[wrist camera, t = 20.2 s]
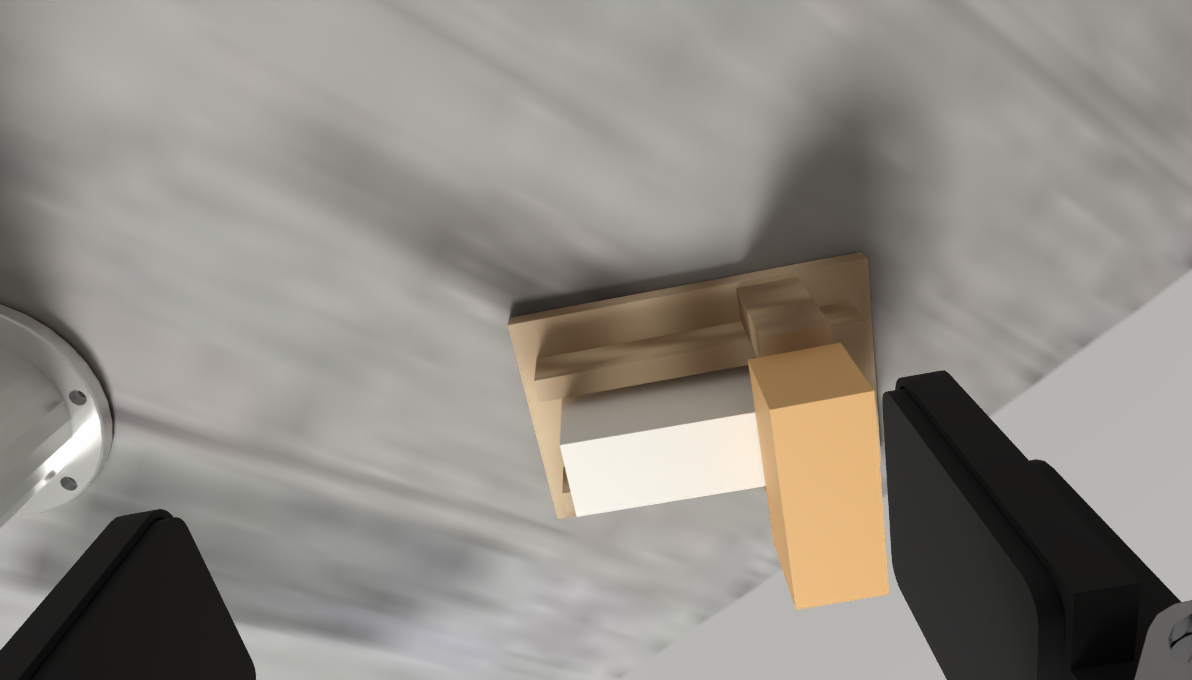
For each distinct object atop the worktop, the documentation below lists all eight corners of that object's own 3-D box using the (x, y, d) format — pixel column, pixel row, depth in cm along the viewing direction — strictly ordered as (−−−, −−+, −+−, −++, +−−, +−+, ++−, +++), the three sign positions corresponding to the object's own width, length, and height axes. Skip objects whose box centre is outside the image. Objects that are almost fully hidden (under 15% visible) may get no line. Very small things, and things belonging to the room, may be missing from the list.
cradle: (558, 508, 47) (554, 592, 41) (509, 317, 42) (496, 378, 36) (875, 454, 46) (922, 531, 40) (861, 251, 41) (913, 302, 35)
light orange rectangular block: (773, 543, 40) (796, 609, 36) (747, 359, 36) (769, 410, 32) (856, 529, 39) (889, 594, 35) (840, 342, 35) (874, 390, 31)
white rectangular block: (577, 451, 44) (576, 516, 39) (562, 387, 43) (559, 445, 38) (837, 408, 44) (872, 468, 38) (832, 340, 42) (868, 393, 37)
